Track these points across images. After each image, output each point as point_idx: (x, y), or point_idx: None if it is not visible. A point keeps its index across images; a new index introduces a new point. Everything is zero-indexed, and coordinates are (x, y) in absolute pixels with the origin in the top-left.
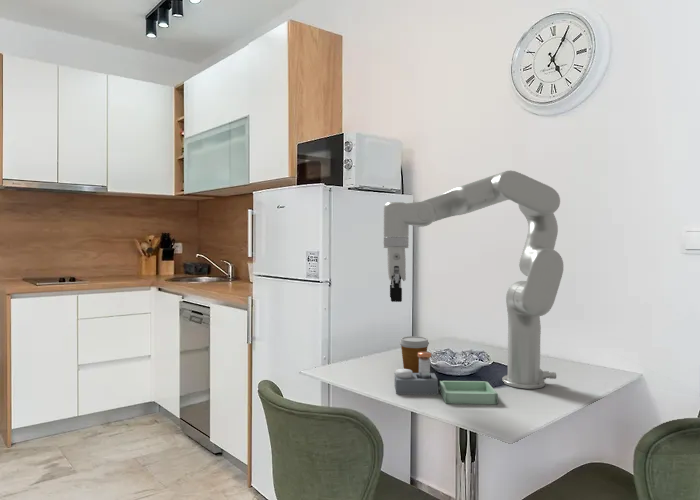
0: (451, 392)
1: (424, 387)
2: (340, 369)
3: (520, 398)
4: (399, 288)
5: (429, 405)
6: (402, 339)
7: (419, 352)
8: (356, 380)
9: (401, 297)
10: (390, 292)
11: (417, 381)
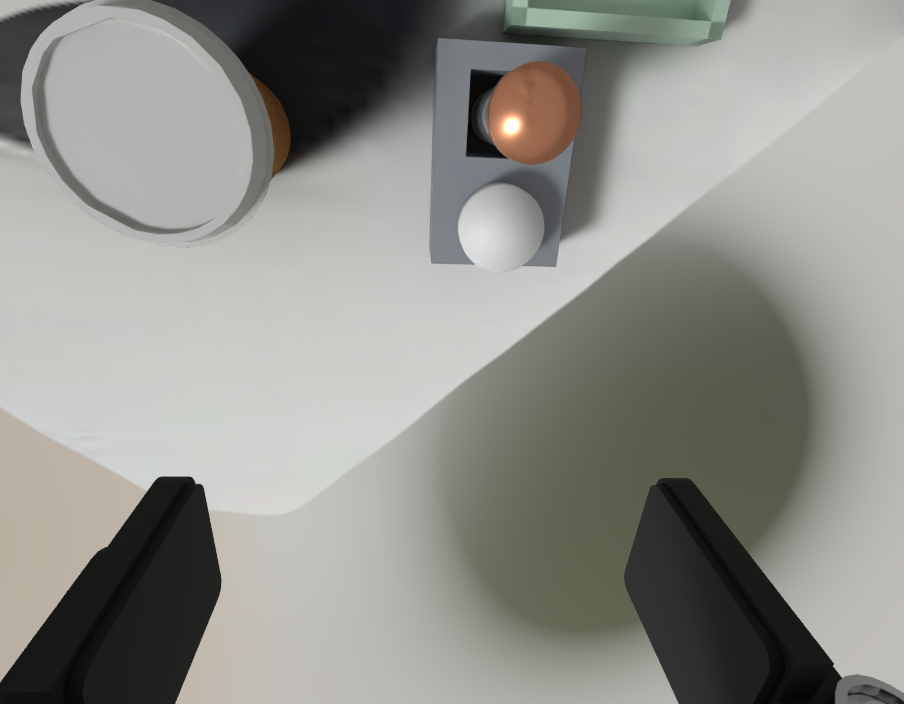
0: (716, 2)
1: None
2: (201, 451)
3: None
4: (811, 689)
5: (700, 129)
6: (193, 236)
7: (514, 148)
8: (358, 392)
9: (715, 518)
10: (192, 656)
11: (568, 164)
